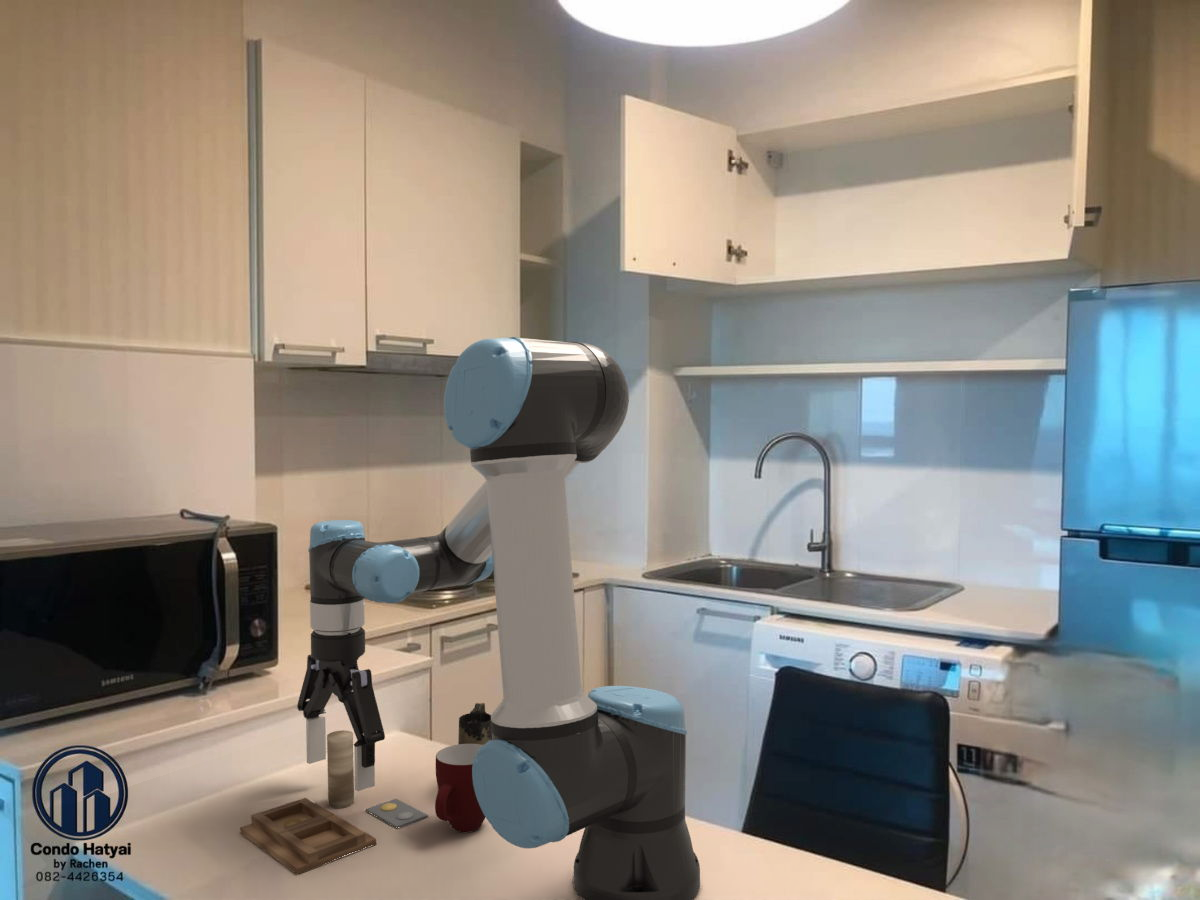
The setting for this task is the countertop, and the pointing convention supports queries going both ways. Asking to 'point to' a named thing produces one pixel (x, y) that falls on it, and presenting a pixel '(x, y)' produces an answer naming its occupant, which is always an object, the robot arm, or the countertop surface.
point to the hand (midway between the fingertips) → (339, 774)
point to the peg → (340, 769)
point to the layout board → (304, 835)
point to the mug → (457, 788)
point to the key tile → (397, 813)
